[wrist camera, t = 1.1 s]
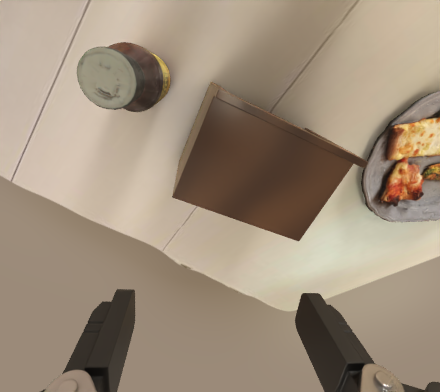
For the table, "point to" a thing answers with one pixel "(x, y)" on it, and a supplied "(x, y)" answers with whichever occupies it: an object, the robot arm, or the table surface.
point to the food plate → (406, 165)
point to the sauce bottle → (123, 77)
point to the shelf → (258, 166)
